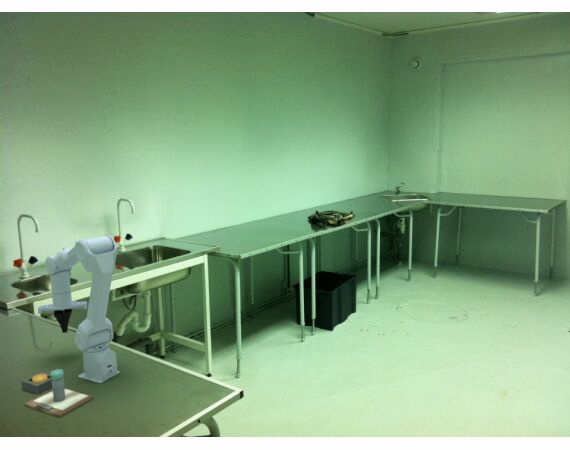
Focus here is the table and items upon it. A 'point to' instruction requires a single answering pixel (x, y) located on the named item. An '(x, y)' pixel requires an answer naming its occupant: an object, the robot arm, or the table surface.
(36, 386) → the button base
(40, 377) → the button
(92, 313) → the robot arm
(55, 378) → the marker
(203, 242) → the table surface
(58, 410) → the clipboard
